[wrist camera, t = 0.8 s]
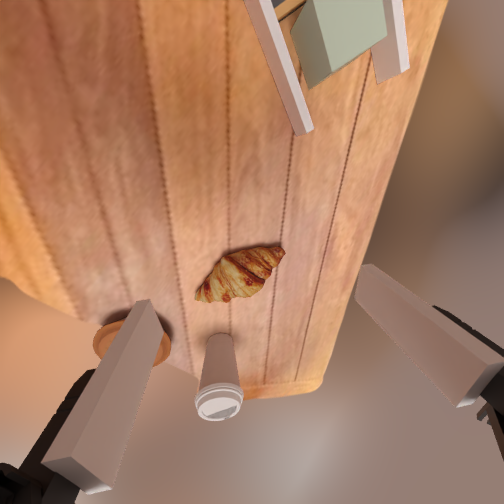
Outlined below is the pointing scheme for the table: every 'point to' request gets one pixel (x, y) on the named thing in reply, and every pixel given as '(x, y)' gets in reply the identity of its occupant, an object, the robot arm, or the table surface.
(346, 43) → the block
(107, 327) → the pie
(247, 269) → the croissant
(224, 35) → the table surface
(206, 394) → the coffee cup
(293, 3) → the drawer
